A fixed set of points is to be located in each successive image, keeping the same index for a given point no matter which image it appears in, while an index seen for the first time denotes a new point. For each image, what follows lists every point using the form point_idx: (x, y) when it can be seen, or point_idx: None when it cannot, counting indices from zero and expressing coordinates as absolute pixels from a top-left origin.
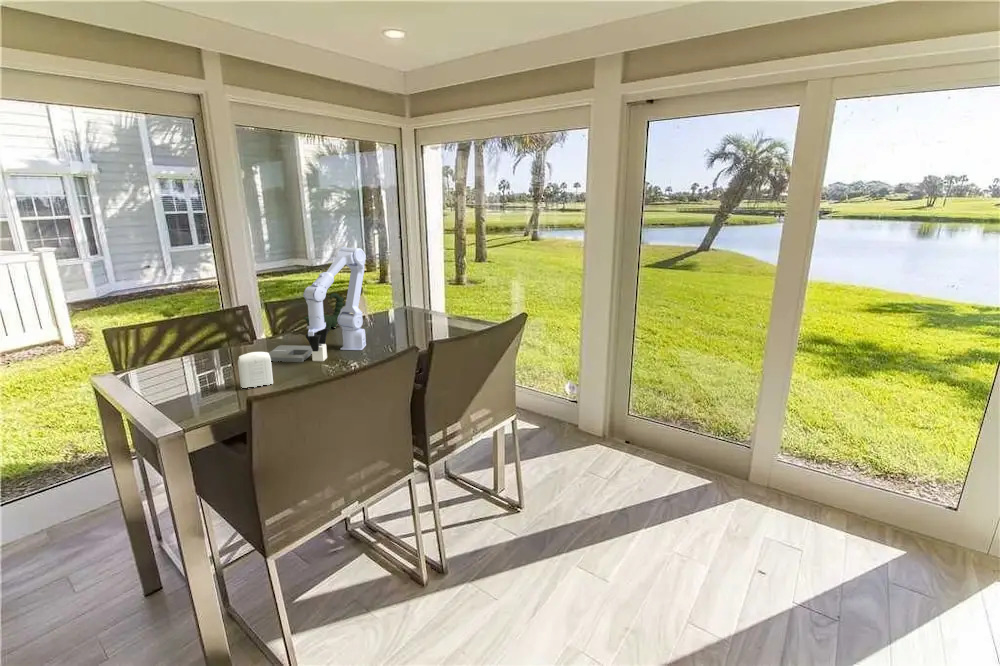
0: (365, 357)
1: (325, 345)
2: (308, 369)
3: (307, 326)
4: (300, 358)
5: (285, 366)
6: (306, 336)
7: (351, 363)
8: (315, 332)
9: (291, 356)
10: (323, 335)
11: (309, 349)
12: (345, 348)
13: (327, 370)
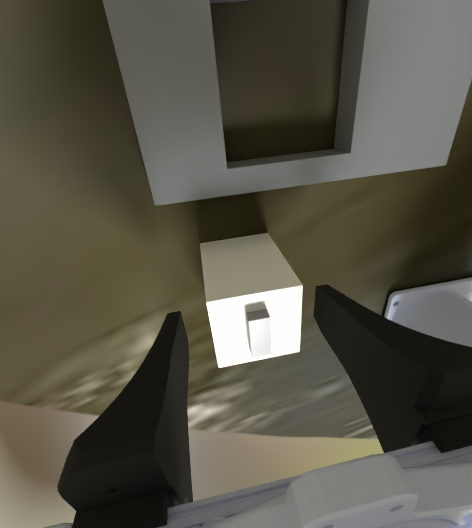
0: (283, 408)
1: (283, 348)
2: (50, 296)
3: (354, 515)
4: (151, 189)
5: (16, 108)
6: (62, 472)
7: (205, 403)
8: (202, 523)
9: (163, 83)
10: (362, 383)
11: (363, 153)
12: (397, 313)
13: (84, 374)
